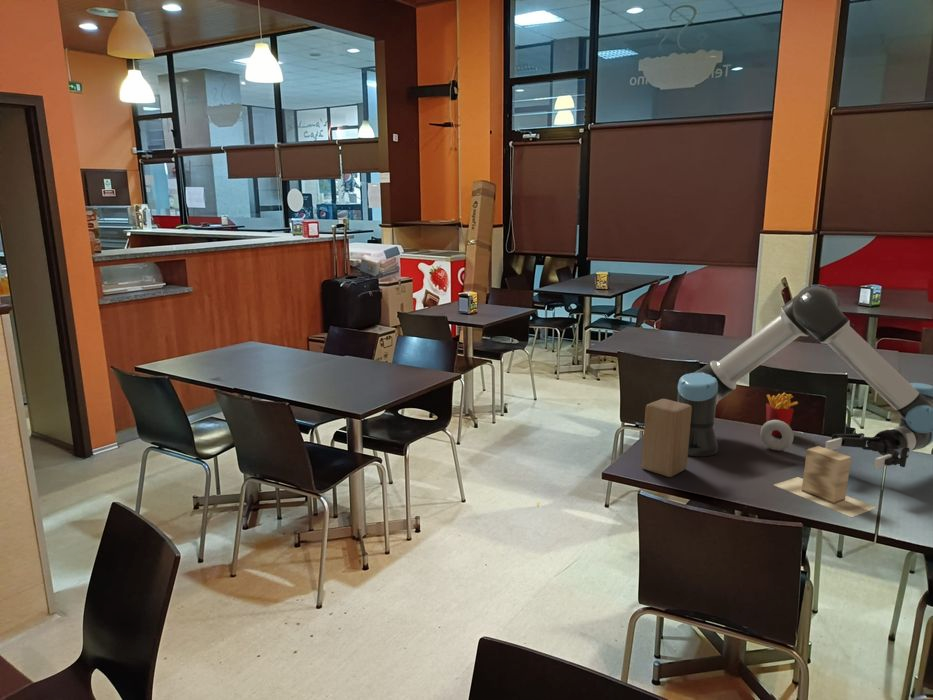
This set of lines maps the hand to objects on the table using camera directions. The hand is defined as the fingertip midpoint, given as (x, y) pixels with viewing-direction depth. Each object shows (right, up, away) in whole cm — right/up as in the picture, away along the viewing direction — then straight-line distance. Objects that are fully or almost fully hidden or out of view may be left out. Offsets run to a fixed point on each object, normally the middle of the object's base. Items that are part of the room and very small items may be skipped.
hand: (850, 454), depth 183 cm
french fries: (+3, -1, +47) cm, 47 cm away
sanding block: (-9, -10, -3) cm, 14 cm away
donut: (-5, -4, +34) cm, 34 cm away
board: (-9, -12, -3) cm, 15 cm away
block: (-45, -7, +17) cm, 49 cm away
